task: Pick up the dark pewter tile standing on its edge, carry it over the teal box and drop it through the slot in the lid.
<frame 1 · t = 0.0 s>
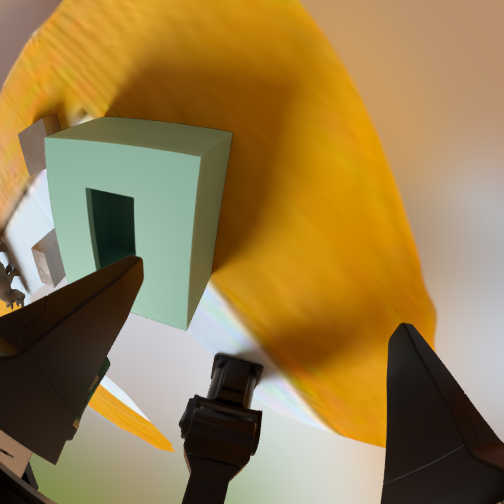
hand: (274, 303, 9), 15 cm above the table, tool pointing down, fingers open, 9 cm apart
teal box: (156, 198, 24), on the table
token: (66, 245, 30), on the table
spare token: (50, 141, 23), on the table
coffee jar: (91, 350, 44), on the table
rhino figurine: (14, 268, 36), on the table
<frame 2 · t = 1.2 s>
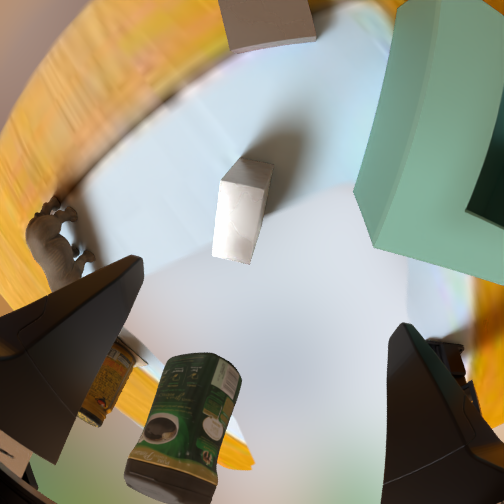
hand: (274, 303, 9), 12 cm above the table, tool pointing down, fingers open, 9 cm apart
teal box: (453, 129, 15), on the table
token: (251, 193, 21), on the table
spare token: (268, 14, 13), on the table
condiment: (115, 347, 37), on the table
coffee jar: (206, 367, 34), on the table
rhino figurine: (83, 250, 27), on the table
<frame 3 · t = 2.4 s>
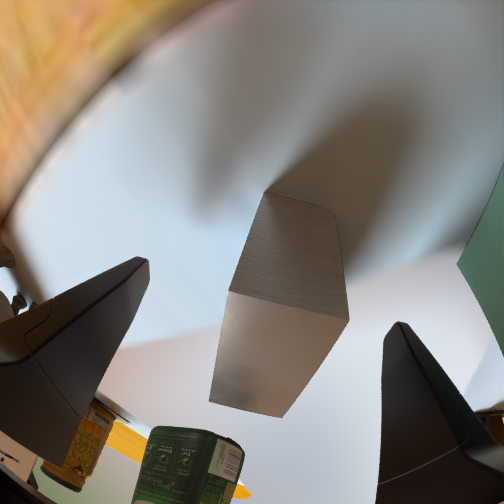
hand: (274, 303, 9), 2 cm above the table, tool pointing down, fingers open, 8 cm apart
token: (281, 260, 11), on the table
condiment: (90, 401, 27), on the table
coffee jar: (200, 436, 25), on the table
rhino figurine: (30, 301, 17), on the table
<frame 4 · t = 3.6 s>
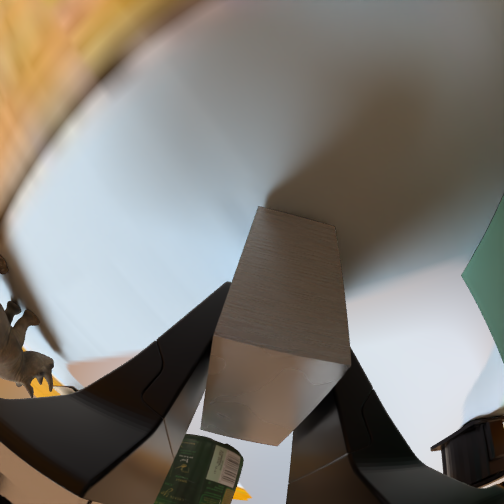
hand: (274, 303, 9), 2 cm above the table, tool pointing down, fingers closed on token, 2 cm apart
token: (277, 278, 10), on the table, touching gripper
coffee jar: (199, 442, 24), on the table
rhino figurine: (25, 307, 17), on the table
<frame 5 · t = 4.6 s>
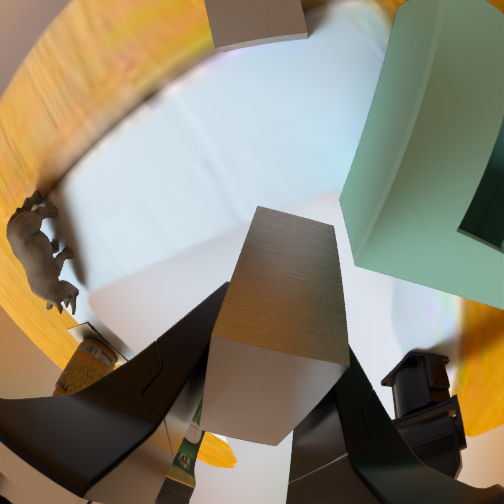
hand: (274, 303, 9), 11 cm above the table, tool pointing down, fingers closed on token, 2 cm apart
teal box: (450, 138, 14), on the table
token: (276, 278, 10), point 10 cm above the table, touching gripper
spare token: (258, 10, 12), on the table
condiment: (97, 344, 36), on the table
coffee jar: (187, 368, 34), on the table
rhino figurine: (63, 246, 26), on the table
when the fingers open (8 cm above the table, at t = 6.0 s): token drops 6 cm, resting on teal box.
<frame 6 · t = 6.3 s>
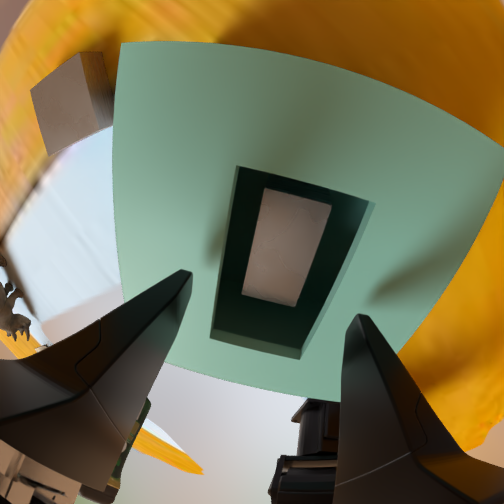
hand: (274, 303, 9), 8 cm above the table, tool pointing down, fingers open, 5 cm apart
teal box: (288, 199, 16), on the table
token: (289, 202, 15), point 1 cm above the table, touching teal box
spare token: (85, 100, 14), on the table
coffee jar: (123, 388, 35), on the table
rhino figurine: (15, 287, 28), on the table
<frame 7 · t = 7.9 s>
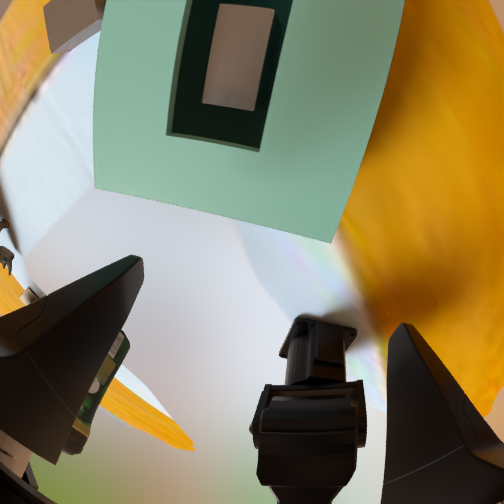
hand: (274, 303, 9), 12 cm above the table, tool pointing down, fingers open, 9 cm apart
teal box: (255, 62, 15), on the table
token: (254, 60, 14), point 1 cm above the table, touching teal box
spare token: (87, 13, 13), on the table
coffee jar: (103, 329, 35), on the table
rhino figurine: (3, 219, 27), on the table
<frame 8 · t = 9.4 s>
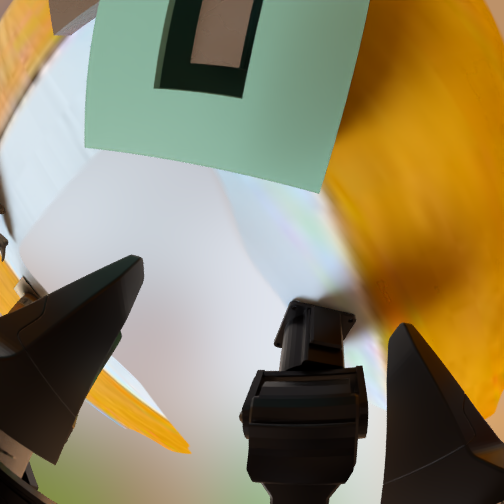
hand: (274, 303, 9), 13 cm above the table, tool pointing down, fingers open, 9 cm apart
teal box: (245, 36, 14), on the table
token: (244, 34, 14), point 1 cm above the table, touching teal box
condiment: (35, 301, 36), on the table
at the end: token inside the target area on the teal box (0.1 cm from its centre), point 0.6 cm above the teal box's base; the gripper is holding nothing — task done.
